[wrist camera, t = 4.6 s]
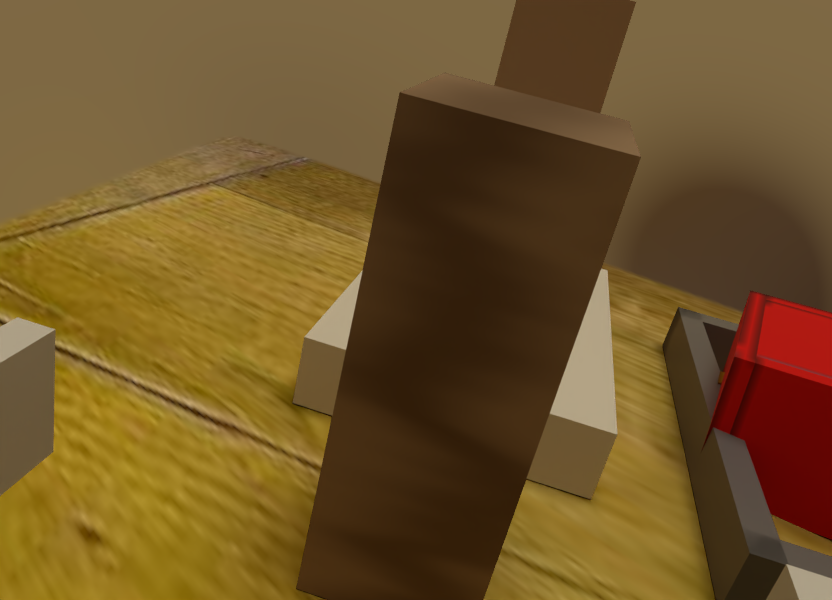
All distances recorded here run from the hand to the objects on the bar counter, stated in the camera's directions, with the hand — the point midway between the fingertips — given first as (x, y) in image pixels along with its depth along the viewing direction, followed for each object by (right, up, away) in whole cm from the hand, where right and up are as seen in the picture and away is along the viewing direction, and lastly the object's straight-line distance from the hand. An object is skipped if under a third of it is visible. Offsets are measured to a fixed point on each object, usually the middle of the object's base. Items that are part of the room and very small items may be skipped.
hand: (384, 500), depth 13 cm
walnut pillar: (0, -4, +10) cm, 11 cm away
